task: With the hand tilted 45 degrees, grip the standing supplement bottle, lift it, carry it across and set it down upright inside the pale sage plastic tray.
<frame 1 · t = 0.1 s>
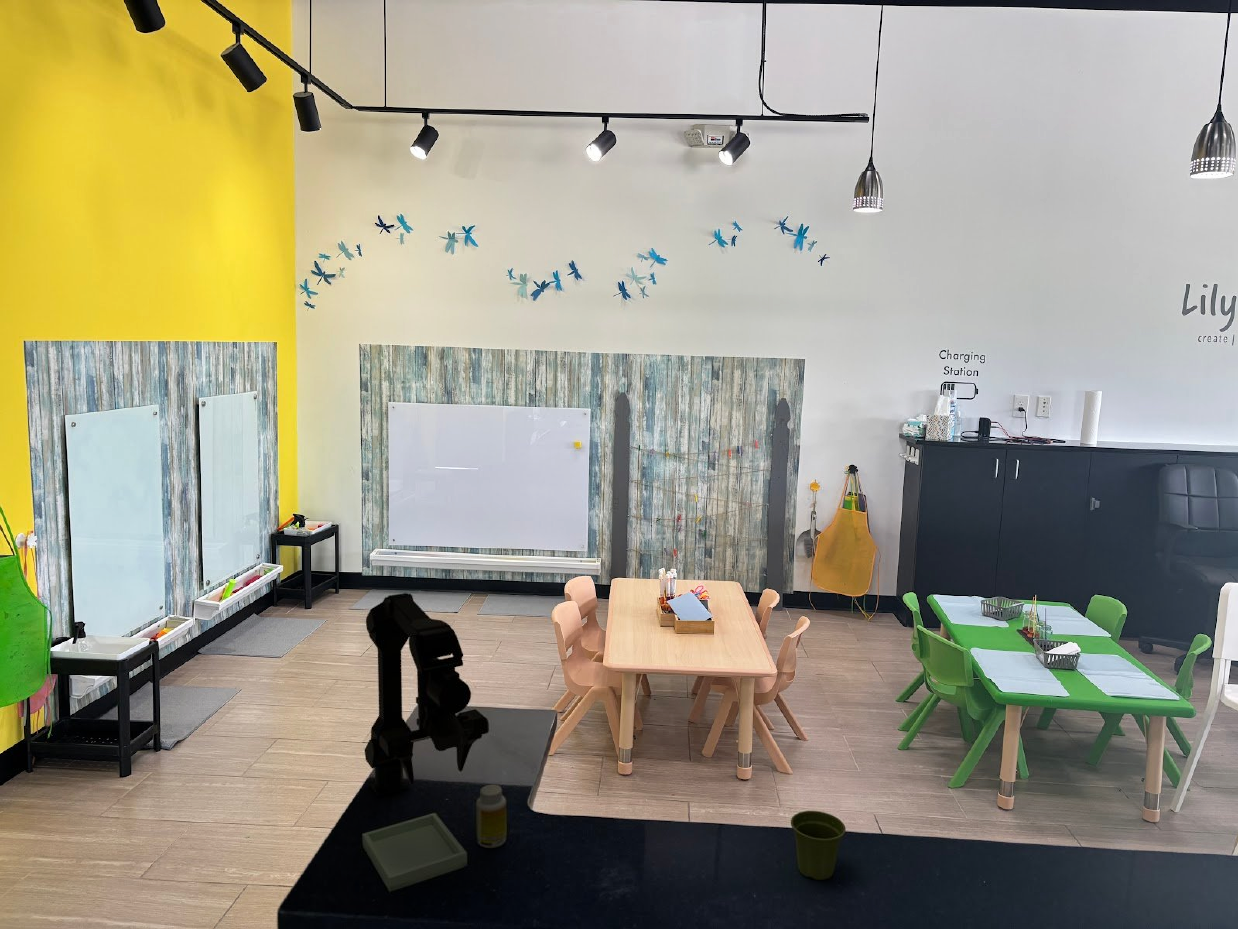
hand: (436, 777, 155), 15 cm above the countertop, tool pointing down, fingers open, 9 cm apart
tray: (414, 856, 155), on the countertop
plant pot: (816, 871, 152), on the countertop
supplement bottle: (491, 842, 160), on the countertop
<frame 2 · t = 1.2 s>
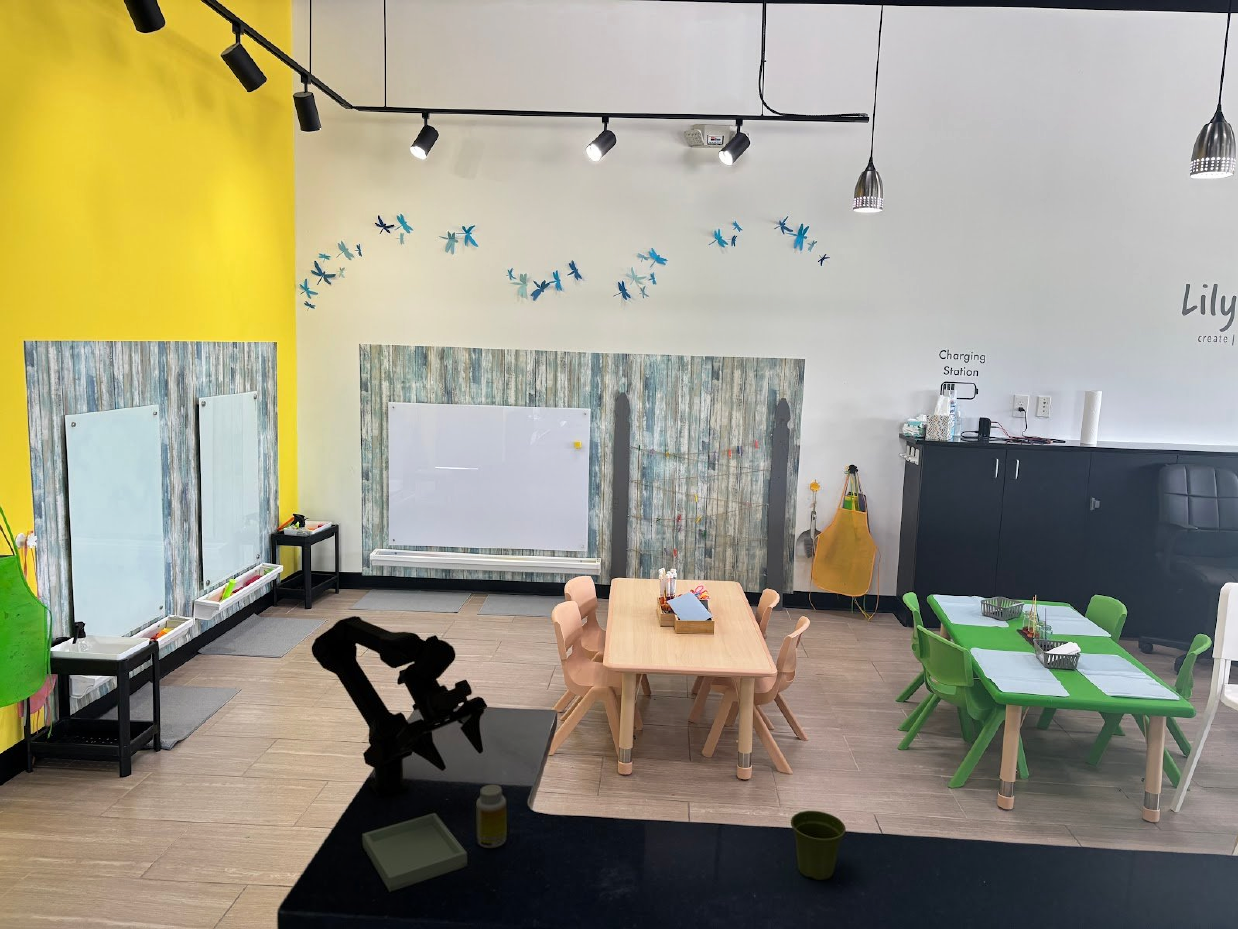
hand: (463, 761, 164), 13 cm above the countertop, tool tilted 45°, fingers open, 9 cm apart
nothing on the countertop moved.
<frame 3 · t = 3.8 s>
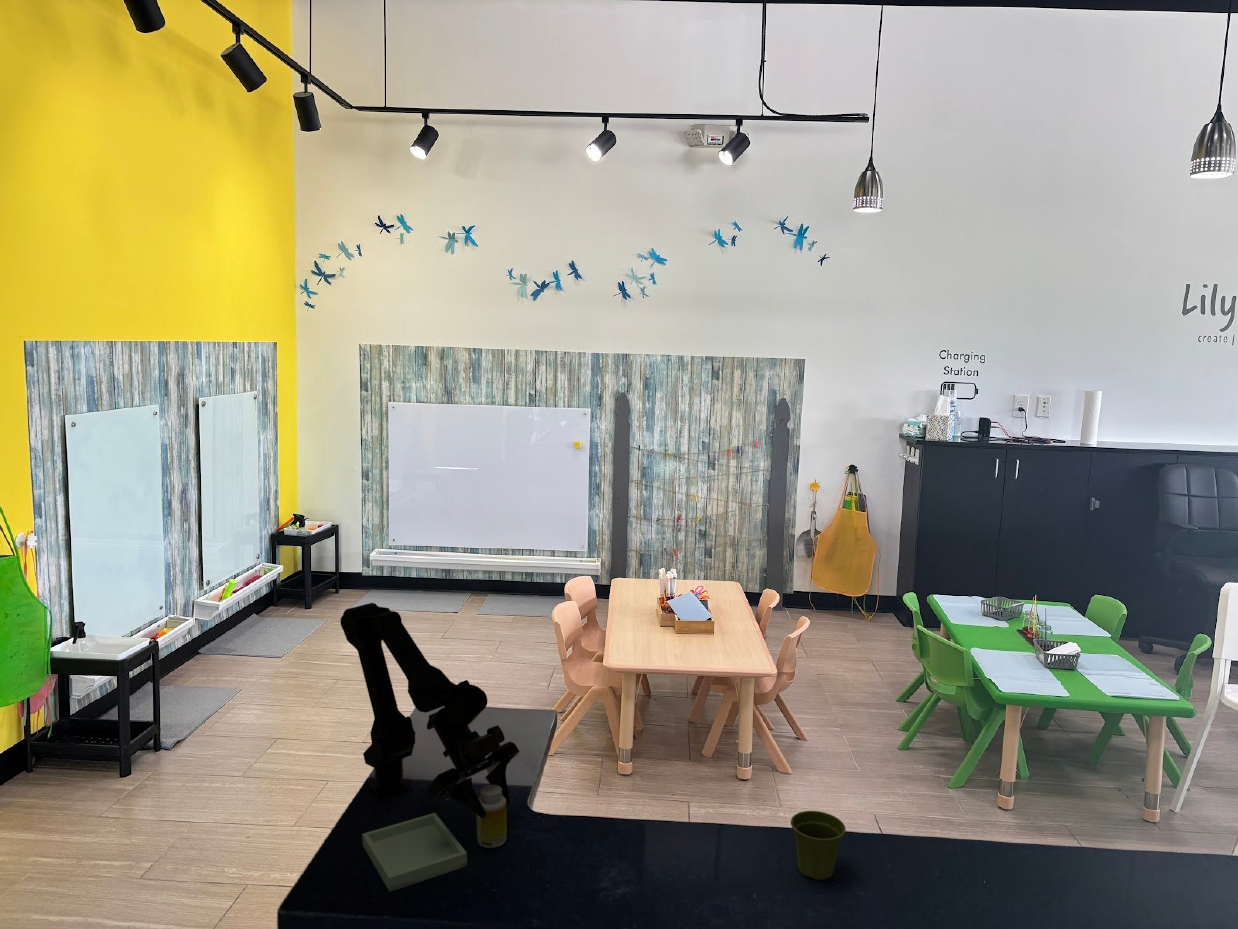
hand: (496, 810, 159), 7 cm above the countertop, tool tilted 45°, fingers closed on supplement bottle, 6 cm apart
supplement bottle: (491, 842, 160), on the countertop, touching gripper
everything else where it was.
when the fingers open (9 cm above the countertop, at t = 7.5 s): supplement bottle drops 1 cm, resting on tray.
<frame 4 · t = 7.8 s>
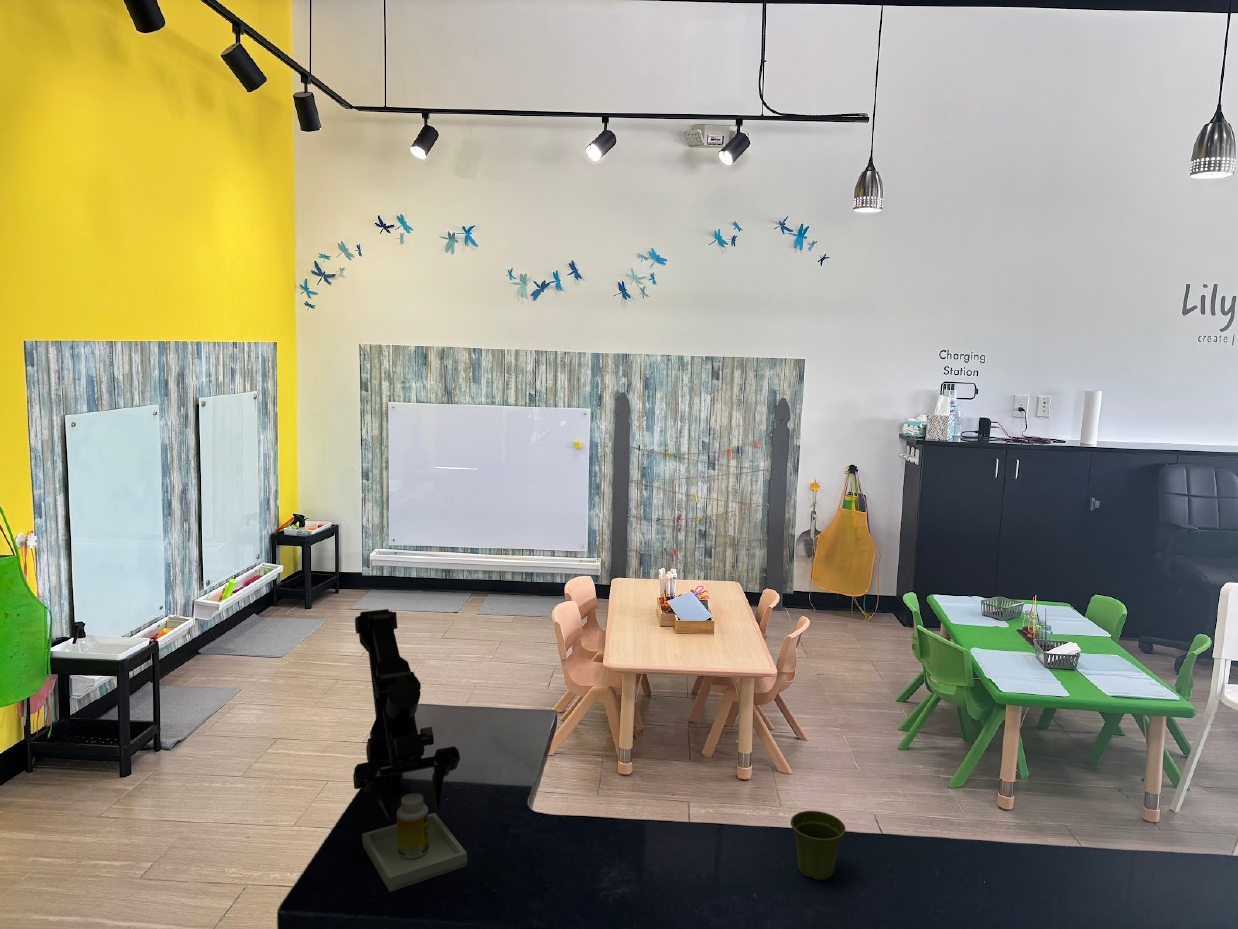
hand: (414, 814, 153), 9 cm above the countertop, tool tilted 45°, fingers open, 8 cm apart
supplement bottle: (413, 852, 156), point 1 cm above the countertop, touching tray
everything else where it was.
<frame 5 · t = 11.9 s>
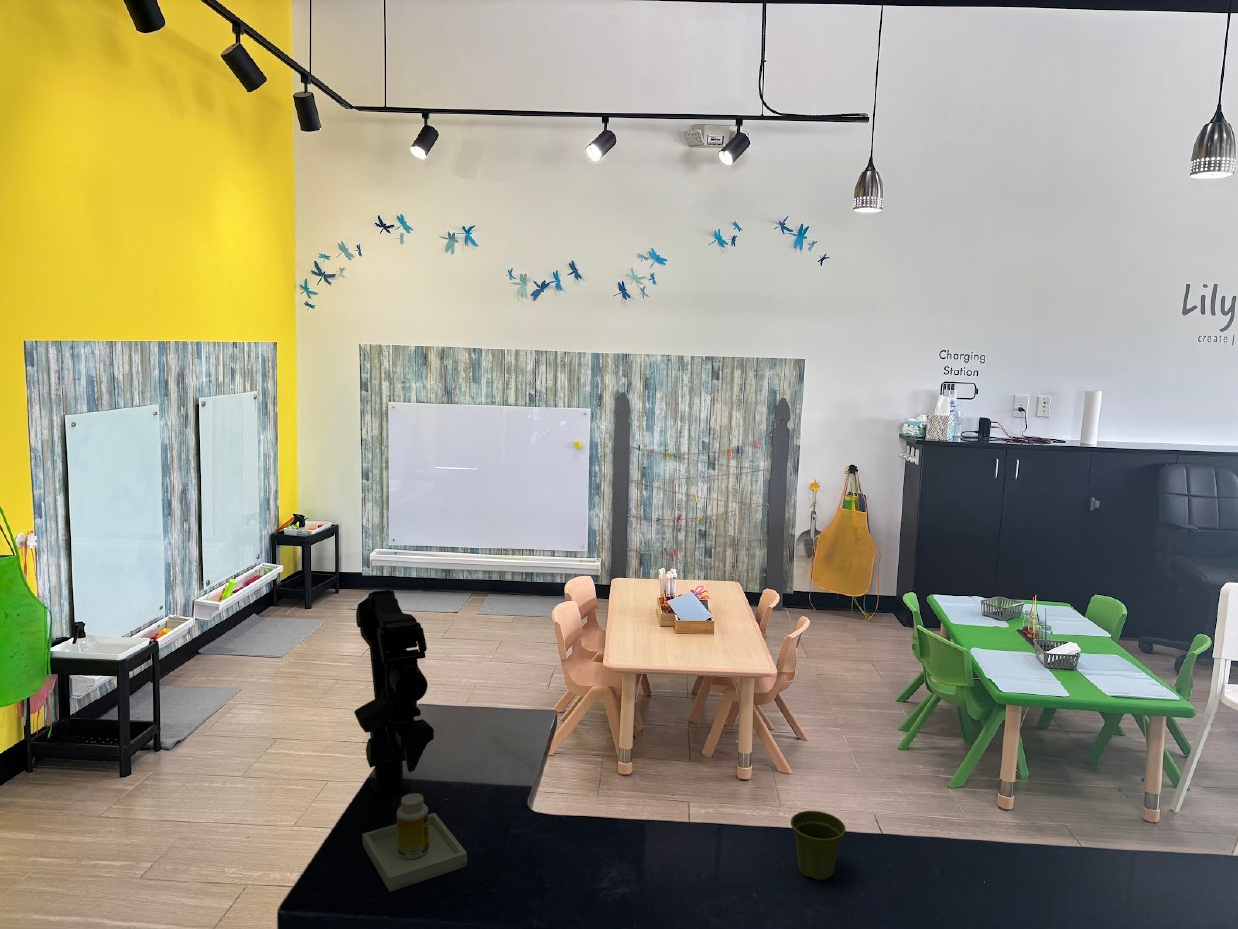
hand: (403, 761, 164), 13 cm above the countertop, tool pointing down, fingers open, 9 cm apart
nothing on the countertop moved.
at the end: supplement bottle inside the target area on the tray (0.2 cm from its centre), point 0.6 cm above the tray's base; supplement bottle tilted 0°; the gripper is holding nothing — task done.
